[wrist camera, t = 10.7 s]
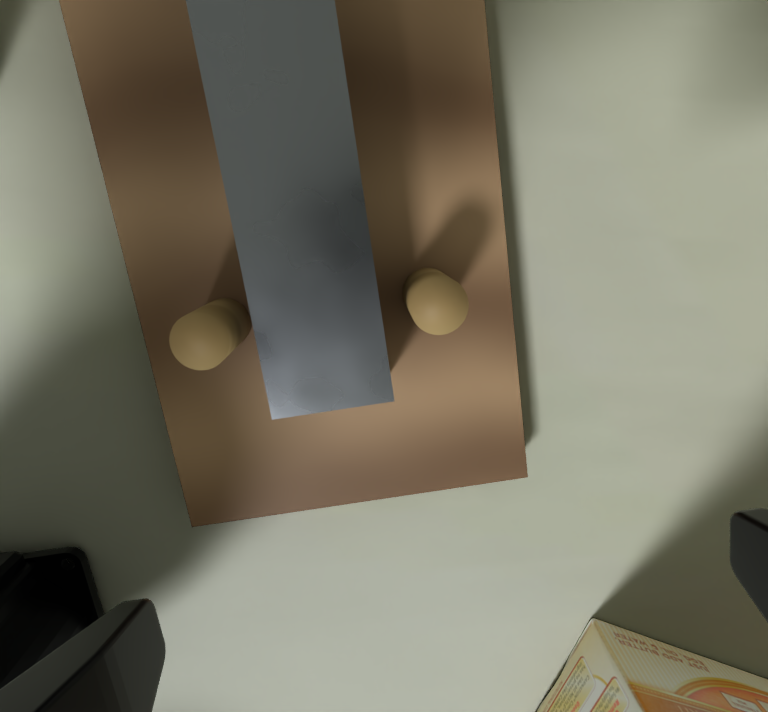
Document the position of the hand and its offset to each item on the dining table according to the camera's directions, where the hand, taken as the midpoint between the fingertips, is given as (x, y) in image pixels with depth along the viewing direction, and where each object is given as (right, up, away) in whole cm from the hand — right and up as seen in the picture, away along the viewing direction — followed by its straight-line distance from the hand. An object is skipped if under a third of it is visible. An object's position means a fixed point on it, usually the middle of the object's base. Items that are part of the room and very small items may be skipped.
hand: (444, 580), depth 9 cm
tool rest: (-4, +11, +10) cm, 15 cm away
